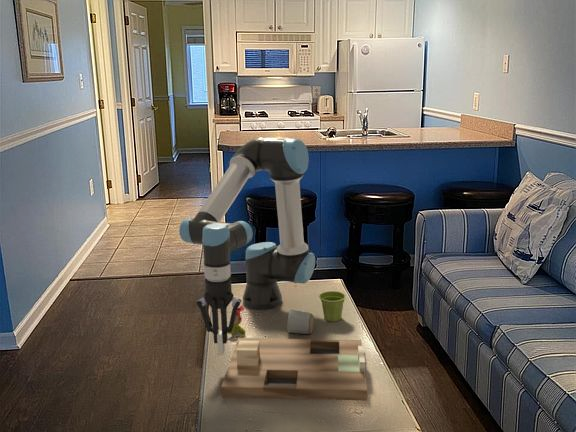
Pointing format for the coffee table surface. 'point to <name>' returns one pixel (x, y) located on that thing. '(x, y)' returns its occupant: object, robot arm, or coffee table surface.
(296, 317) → the ceramic mug
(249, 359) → the maple block
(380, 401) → the coffee table surface
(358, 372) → the board
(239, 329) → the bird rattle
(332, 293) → the plant pot
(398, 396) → the coffee table surface
